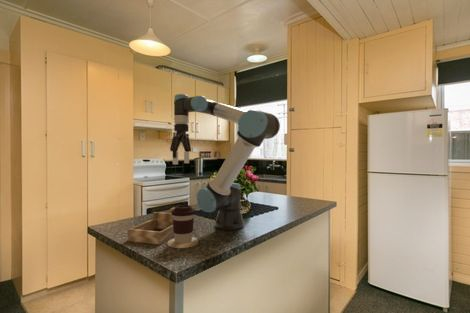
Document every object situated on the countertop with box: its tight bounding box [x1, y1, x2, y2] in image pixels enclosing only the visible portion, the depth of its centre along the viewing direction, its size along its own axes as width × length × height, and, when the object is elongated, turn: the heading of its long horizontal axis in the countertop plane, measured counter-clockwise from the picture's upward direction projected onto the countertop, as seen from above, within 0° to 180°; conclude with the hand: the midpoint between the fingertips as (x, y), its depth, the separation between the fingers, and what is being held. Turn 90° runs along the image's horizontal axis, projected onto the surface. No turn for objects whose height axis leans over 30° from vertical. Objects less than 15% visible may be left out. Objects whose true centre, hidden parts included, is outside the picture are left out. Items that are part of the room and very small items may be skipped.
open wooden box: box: [127, 211, 174, 245], centre depth 121 cm, size 16×21×8 cm
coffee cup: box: [171, 204, 196, 244], centre depth 111 cm, size 10×10×15 cm
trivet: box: [166, 236, 199, 249], centre depth 111 cm, size 13×13×1 cm
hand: (181, 163), depth 138 cm, fingers open, 13 cm apart
